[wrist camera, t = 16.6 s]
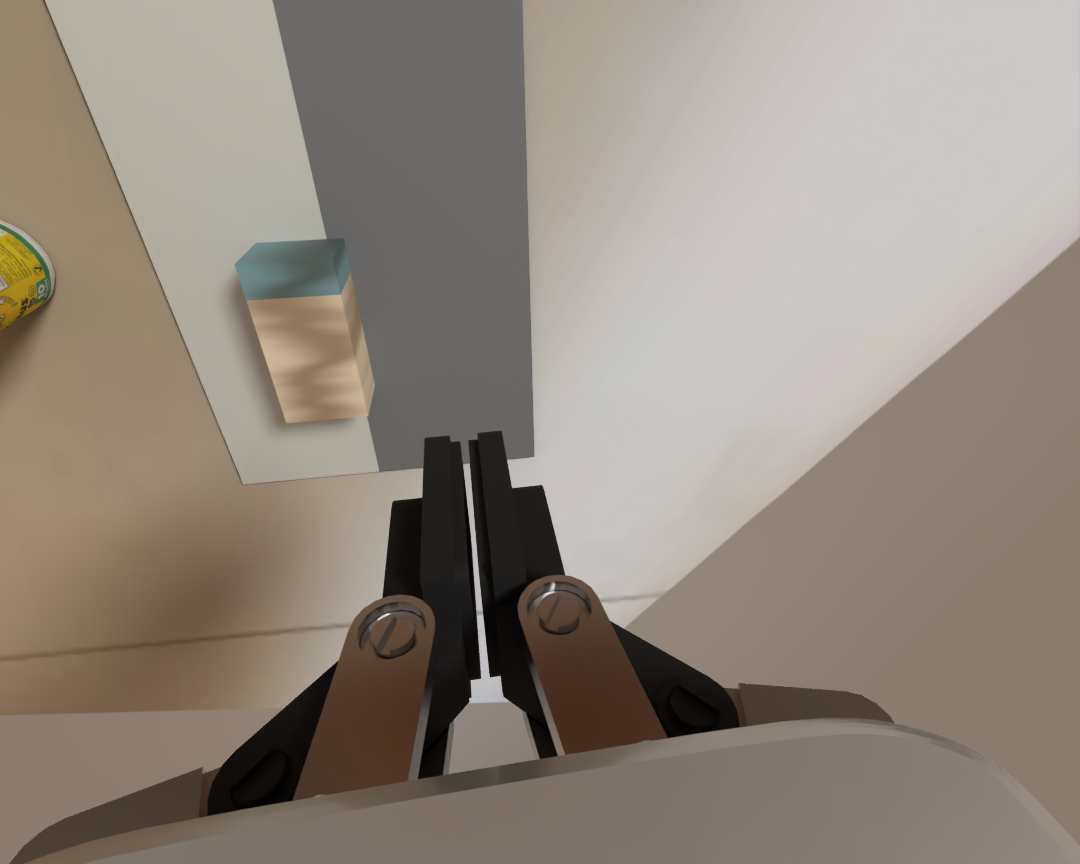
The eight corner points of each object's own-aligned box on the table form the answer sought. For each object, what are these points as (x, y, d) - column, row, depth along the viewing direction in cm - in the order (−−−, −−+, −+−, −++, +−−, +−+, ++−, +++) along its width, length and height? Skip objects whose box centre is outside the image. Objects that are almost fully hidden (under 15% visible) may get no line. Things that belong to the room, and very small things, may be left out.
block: (332, 258, 30) (368, 416, 35) (343, 238, 33) (374, 385, 39) (234, 264, 29) (286, 423, 35) (255, 242, 32) (300, 391, 38)
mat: (533, 453, 44) (534, 456, 44) (244, 481, 42) (243, 484, 42) (520, -36, 27) (521, -37, 27) (35, -35, 25) (29, -37, 25)
